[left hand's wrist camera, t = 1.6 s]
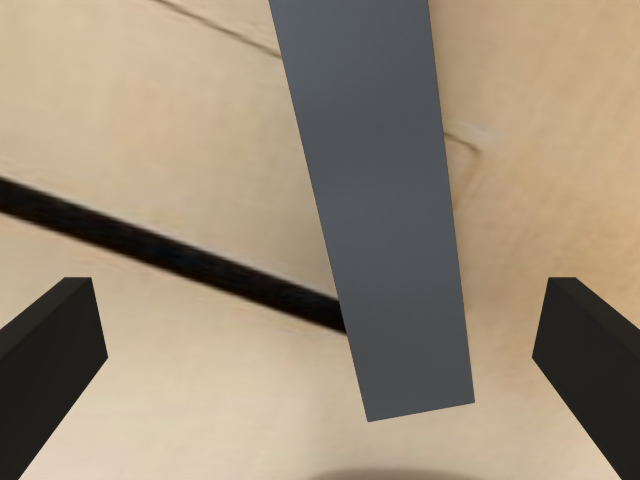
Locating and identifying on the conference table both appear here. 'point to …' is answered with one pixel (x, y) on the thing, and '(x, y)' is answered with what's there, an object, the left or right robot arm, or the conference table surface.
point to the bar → (381, 193)
